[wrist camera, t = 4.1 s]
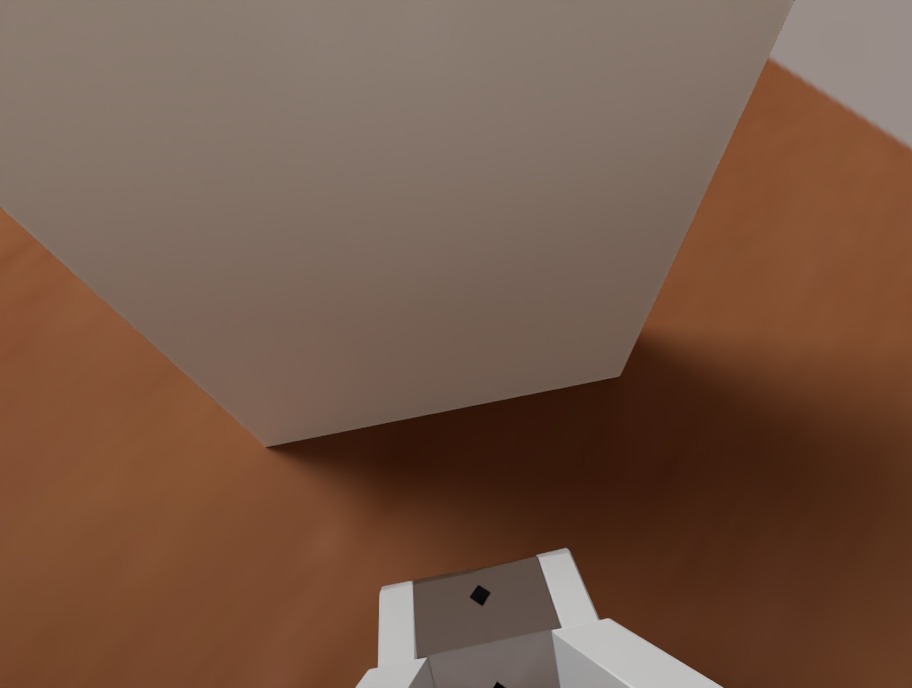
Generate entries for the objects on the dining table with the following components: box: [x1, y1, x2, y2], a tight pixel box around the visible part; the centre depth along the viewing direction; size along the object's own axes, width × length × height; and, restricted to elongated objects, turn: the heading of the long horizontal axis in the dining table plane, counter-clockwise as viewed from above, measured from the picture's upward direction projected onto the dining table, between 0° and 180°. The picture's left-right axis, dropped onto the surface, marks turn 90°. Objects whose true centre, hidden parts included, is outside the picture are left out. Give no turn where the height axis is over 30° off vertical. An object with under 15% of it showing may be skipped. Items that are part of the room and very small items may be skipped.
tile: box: [0, 0, 795, 447], centre depth 12 cm, size 2×10×14 cm, turn 101°
